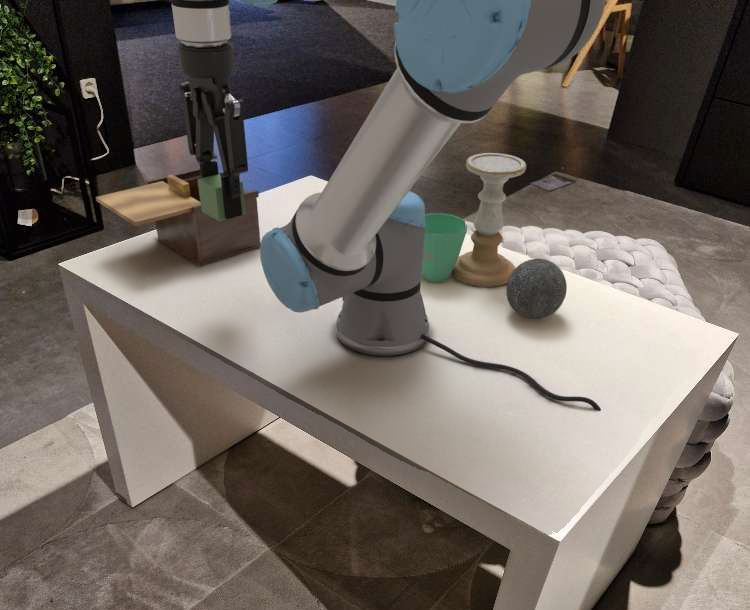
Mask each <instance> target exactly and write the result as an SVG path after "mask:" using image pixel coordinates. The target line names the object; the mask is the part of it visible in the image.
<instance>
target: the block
mask: <svg viewBox="0 0 750 610" xmlns="http://www.w3.org/2000/svg"><path fill="white" fill-rule="evenodd" d="M198 187H199V195H200V202H201V210H202V212H203V213H205V214H207V215H209V216H211V217H212V218H214V219H216V220H218V221H222V220H225V219H226V218H225V210H224V201H223V192H222V185H221V176H220V174H217V175H213V176H209V177H205V178H201V179H198ZM243 189H244V183H243V180H241V179H240V190H241V206H242V214H245V202H244V191H243Z"/></svg>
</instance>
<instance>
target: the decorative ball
mask: <svg viewBox="0 0 750 610" xmlns="http://www.w3.org/2000/svg"><path fill="white" fill-rule="evenodd" d="M567 287H568V285H567V280H566V277H565V274H564V272H563V270H562V269H561V268H560V267H559V266H558V265H557V264H556V263H554V262H552V261H551V260H549V259H545V258H531V259H527V260H525V261H523V262H522V263H520V264H519V265H517V266H516V267H515V269H514V271H513V272H512V273H511V275H510V277H509V279H508V282H507V283H506V287H505V294H506V300H507V302H508V305H509V306H510V308H511V309H512V310H513V312H514V313H515V314H517V315H518V316H519V317H520V318H523V319H527V320H531V321H538V320H543V319H547V318H548V317H551V316H552V315H554V314H555V313H556V312H557V311H558V310H559V309H560V307H561V306H562V304H563V303H564V302H565V298H566V295H567V290H568V289H567Z"/></svg>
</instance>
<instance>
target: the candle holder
mask: <svg viewBox="0 0 750 610" xmlns="http://www.w3.org/2000/svg"><path fill="white" fill-rule="evenodd" d="M465 167H466V168H465V169H466V170H467V171H468V172H470V173H472V174H473V175H476V176H479V178H480V179H481V181H482V183H483V187H482V190H481V191H479V192H478V194H477V198H478V199H479V201H480V202H479V206H478V210H477V212H476V215H475V217H474V219H473V227H474V229H475V231H474V232H473V233H471V235H470V240H471V241H472V243H473V248H472V250H471V251H468V252H465V253H464V254H461V255H459V256H458V259H457V261H456V264H455V266H454V268H453V270H452V272H451V275H452V276H453V278H455V279H456V280H458V281H459V282H462V283H464V284H467V285H470V286H475V287H482V288H483V287H484V288H485V287H486V288H489V287H490V288H491V287H499V286H503V285H507V282H508V279H509V277H510V275H511V273H512V272H513V271H514V269H515V268H516V267H515V264H514V263H513V262H512V261H511V260H509V259H508V258H506V257H505V256H504V255H502V254H500V253H499V246H500V244H502V242H503V240H504V239H503V235H502V234H501V233H500V232H501V231H502V230H503V228H504V226H505V220H504V216H503V203H504V202H505V201H506V200H507V194H505V192H504V185H505V184H506V182H508V181H509V180H510V179H512V178H516V177H519V176H522V175H523V174H525V172H526V171H527V163H526V161H525V160H524V159H522V158H520V157H519V156H515V155H511V154H508V153H507V154H506V153H500V152H499V153H497V152H485V153H477V154H473V155H470V156H469V157H468V158H467V159H466V160H465Z"/></svg>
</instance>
